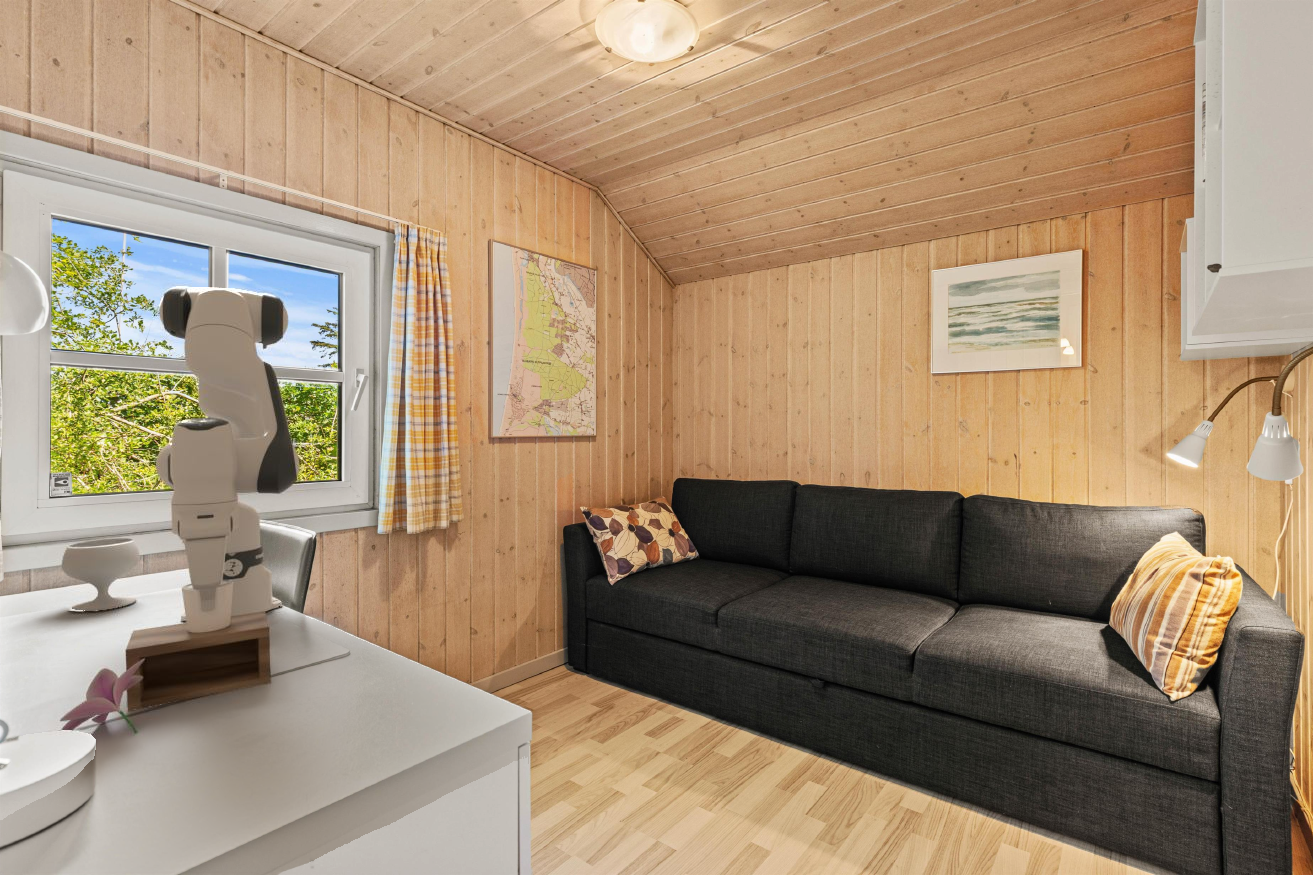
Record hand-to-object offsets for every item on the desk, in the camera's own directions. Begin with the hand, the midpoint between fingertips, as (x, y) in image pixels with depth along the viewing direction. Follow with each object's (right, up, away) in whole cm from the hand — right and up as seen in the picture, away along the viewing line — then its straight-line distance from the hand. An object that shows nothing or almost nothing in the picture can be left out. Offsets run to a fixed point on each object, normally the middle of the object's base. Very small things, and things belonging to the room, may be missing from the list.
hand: (208, 605), depth 106 cm
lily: (-2, -13, -17) cm, 21 cm away
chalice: (-57, -13, +48) cm, 76 cm away
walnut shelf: (-1, -13, 0) cm, 13 cm away
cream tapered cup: (0, -4, 0) cm, 4 cm away
